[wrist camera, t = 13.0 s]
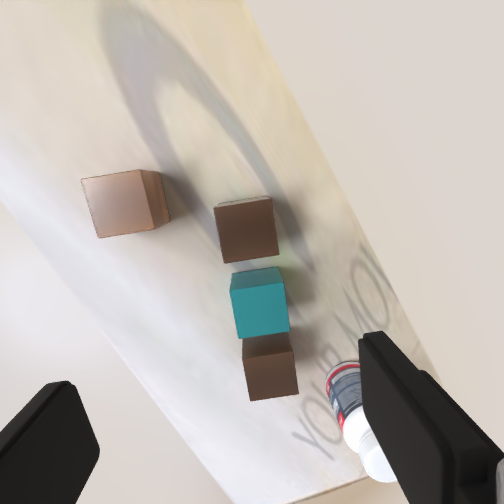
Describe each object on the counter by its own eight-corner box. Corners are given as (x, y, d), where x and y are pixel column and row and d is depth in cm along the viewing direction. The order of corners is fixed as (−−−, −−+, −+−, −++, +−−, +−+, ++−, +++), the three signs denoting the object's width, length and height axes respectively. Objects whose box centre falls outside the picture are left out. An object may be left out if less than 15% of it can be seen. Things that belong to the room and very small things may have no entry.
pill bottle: (315, 374, 29) (344, 454, 21) (359, 351, 29) (408, 423, 20) (337, 409, 30) (374, 499, 22) (380, 388, 30) (435, 471, 21)
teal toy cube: (232, 273, 26) (229, 290, 22) (277, 266, 26) (283, 282, 22) (239, 315, 27) (238, 339, 23) (283, 308, 27) (290, 331, 23)
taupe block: (218, 203, 25) (213, 207, 21) (267, 195, 25) (271, 198, 20) (227, 250, 26) (223, 263, 22) (273, 243, 26) (279, 255, 22)
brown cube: (242, 332, 28) (242, 359, 24) (285, 325, 28) (293, 351, 24) (249, 369, 29) (250, 401, 25) (291, 363, 29) (298, 394, 25)
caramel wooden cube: (109, 179, 24) (80, 179, 20) (159, 171, 24) (140, 169, 20) (123, 229, 25) (97, 238, 21) (170, 221, 25) (155, 229, 21)
